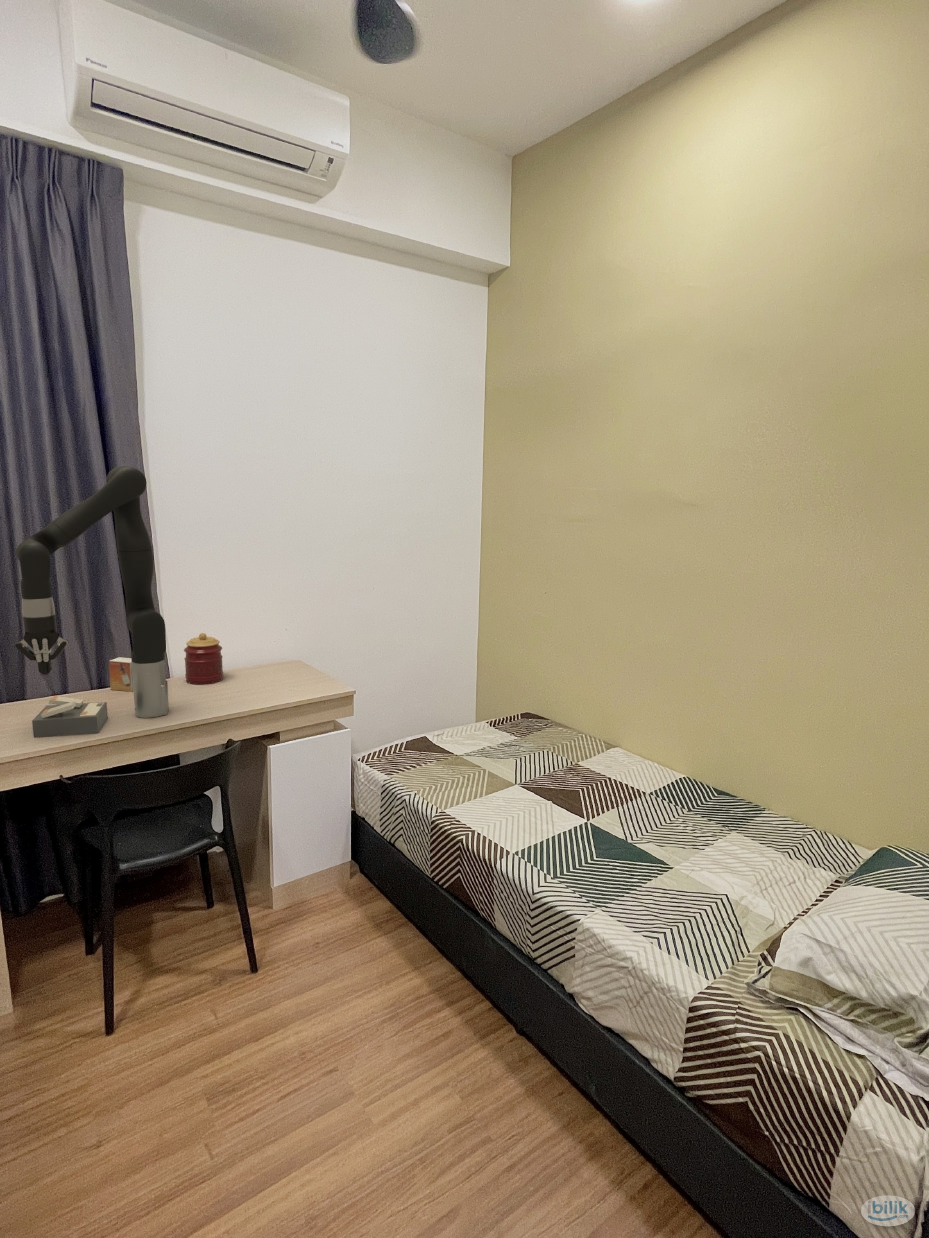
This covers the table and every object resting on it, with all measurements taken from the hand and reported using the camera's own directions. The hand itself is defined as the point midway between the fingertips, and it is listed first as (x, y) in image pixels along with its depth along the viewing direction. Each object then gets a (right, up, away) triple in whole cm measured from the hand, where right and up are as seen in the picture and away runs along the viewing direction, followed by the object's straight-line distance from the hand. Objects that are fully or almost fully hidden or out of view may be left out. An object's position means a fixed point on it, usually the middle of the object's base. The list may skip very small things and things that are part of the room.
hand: (45, 673), depth 182 cm
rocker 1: (0, -9, +9) cm, 13 cm away
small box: (0, -9, +43) cm, 44 cm away
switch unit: (+3, -16, +7) cm, 18 cm away
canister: (+22, -7, +56) cm, 61 cm away
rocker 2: (+2, -11, +2) cm, 11 cm away
